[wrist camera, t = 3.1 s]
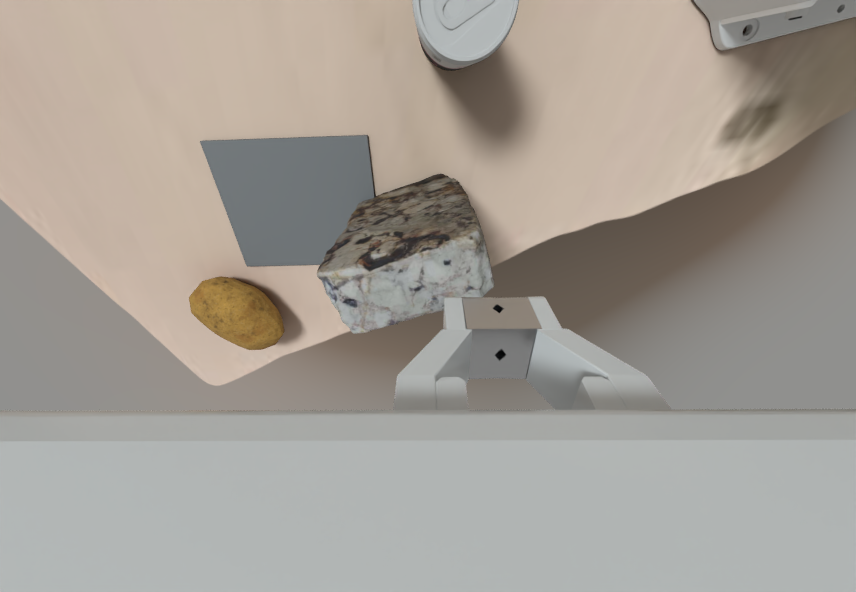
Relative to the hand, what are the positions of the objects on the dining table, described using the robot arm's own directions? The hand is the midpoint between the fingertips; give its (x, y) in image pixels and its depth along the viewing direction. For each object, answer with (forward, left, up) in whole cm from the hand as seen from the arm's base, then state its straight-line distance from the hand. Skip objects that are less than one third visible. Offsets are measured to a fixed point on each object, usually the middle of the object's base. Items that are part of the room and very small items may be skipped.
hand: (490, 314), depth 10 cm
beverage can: (-1, -10, -33) cm, 35 cm away
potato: (+29, +21, -33) cm, 49 cm away
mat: (+18, +7, -33) cm, 38 cm away
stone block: (+4, +7, -33) cm, 34 cm away
